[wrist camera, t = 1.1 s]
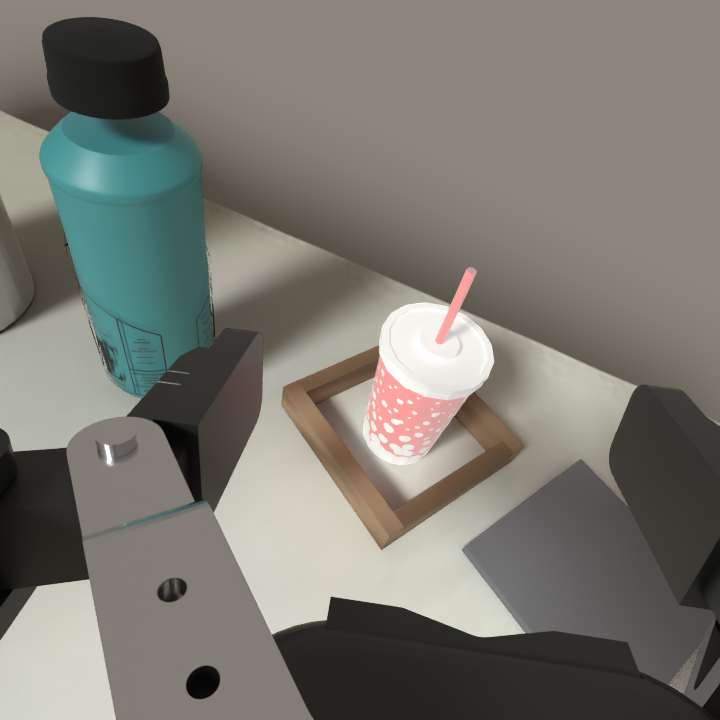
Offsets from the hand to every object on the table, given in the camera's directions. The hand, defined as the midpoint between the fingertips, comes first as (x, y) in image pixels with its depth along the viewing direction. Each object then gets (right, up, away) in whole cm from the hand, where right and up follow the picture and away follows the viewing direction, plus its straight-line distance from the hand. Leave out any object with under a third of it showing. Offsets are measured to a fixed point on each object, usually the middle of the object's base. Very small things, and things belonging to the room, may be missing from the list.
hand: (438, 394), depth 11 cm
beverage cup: (+1, -4, +23) cm, 23 cm away
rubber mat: (+12, -12, +19) cm, 25 cm away
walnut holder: (+1, -4, +22) cm, 23 cm away
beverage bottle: (-14, 0, +22) cm, 26 cm away
